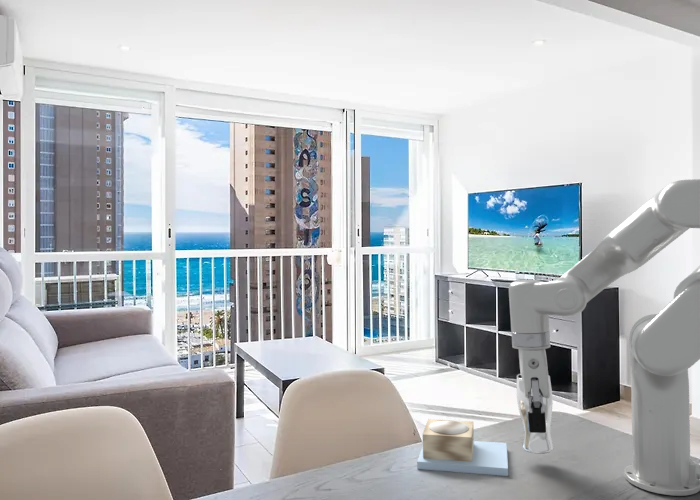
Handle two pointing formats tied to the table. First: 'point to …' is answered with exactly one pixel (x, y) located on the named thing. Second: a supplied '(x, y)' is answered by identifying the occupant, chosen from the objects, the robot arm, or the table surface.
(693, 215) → the robot arm
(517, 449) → the table surface
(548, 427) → the beer glass
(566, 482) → the table surface
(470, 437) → the plinth
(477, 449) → the blueprint board
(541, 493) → the table surface
